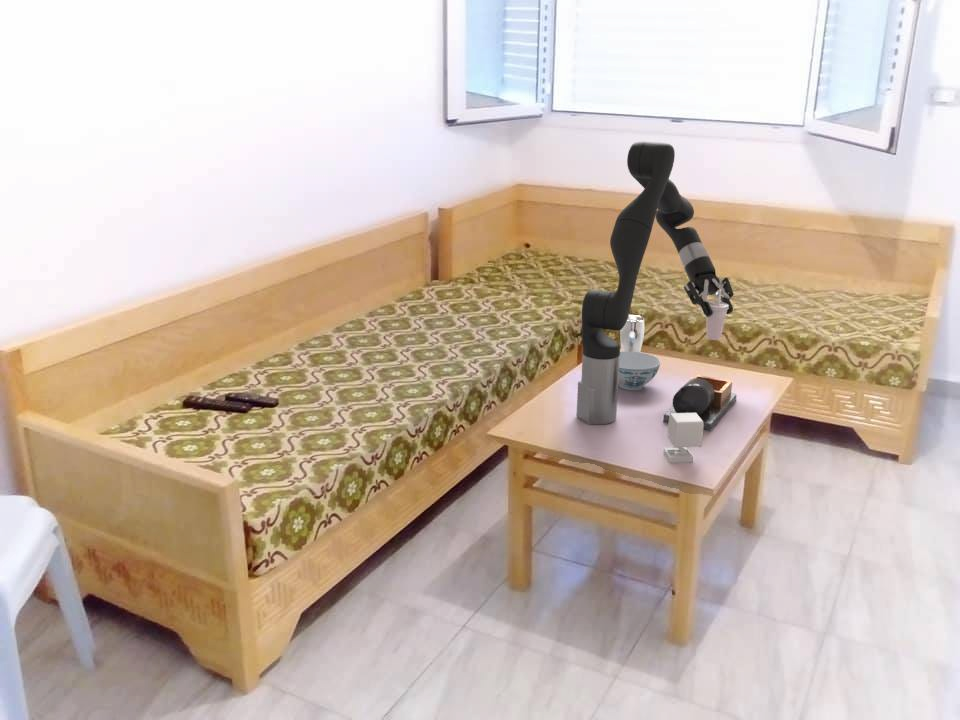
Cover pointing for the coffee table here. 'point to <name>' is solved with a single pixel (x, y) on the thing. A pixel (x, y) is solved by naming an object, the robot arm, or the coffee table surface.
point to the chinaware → (636, 369)
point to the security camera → (683, 436)
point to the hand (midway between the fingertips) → (720, 313)
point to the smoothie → (716, 319)
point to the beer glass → (632, 334)
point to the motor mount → (703, 399)
